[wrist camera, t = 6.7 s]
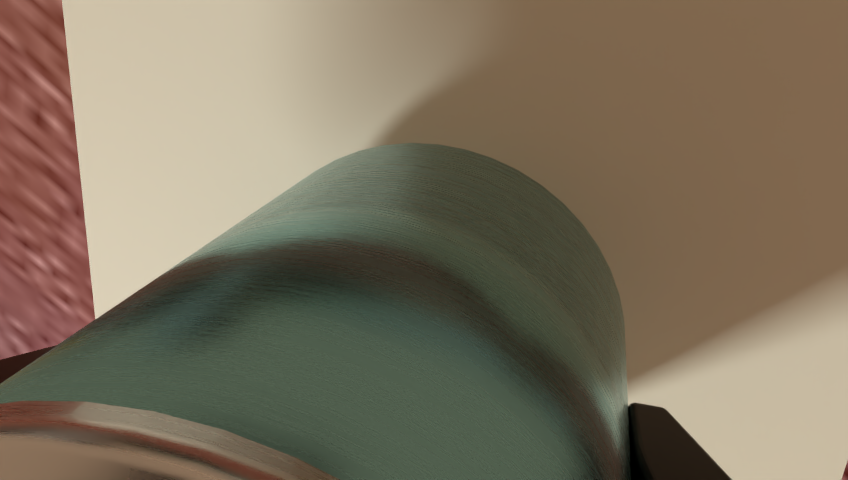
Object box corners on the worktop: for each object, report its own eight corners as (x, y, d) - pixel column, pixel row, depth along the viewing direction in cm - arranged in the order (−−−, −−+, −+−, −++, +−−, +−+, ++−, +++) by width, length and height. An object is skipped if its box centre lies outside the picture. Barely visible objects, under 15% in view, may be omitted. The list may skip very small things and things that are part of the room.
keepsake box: (886, -95, 13) (1036, -131, 8) (731, 501, 18) (775, 686, 13) (210, -127, 16) (44, -169, 11) (229, 403, 20) (117, 530, 16)
